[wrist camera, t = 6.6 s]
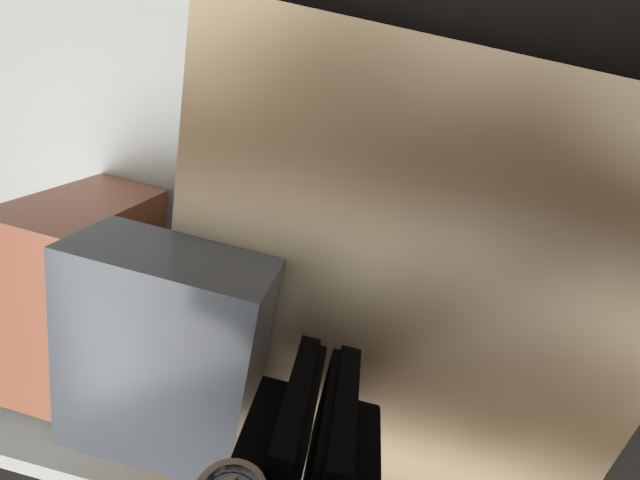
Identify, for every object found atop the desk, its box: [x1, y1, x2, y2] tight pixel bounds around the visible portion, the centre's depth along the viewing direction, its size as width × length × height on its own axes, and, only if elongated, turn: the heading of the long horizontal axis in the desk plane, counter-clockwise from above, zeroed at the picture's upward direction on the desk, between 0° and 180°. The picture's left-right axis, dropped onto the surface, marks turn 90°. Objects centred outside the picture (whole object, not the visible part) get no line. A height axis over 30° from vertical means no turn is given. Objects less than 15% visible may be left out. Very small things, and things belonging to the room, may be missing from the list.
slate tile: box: [44, 215, 286, 480], centre depth 11 cm, size 6×5×2 cm
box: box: [0, 0, 190, 480], centre depth 15 cm, size 21×12×3 cm, turn 168°
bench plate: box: [151, 0, 640, 480], centre depth 14 cm, size 18×14×4 cm
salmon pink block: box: [0, 173, 168, 422], centre depth 13 cm, size 6×5×2 cm
